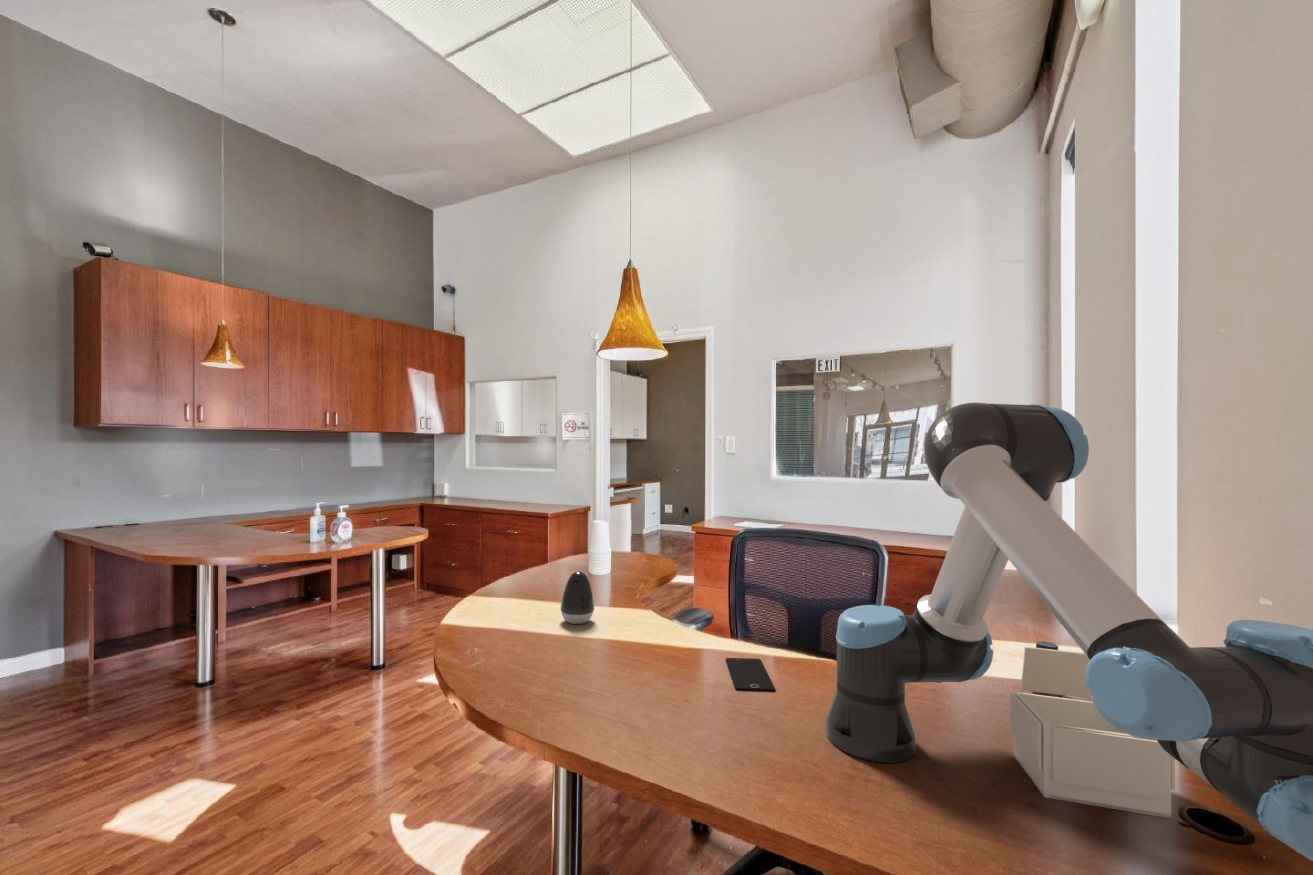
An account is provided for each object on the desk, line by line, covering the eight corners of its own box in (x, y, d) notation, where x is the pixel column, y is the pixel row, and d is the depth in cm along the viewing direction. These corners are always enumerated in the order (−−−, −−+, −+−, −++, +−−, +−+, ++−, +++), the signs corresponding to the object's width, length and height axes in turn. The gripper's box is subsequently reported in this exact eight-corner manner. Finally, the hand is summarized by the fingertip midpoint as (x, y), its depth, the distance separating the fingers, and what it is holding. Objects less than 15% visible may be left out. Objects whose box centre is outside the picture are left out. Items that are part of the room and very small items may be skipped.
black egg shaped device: (554, 625, 158) (556, 574, 158) (566, 615, 168) (568, 567, 169) (588, 628, 156) (589, 576, 157) (597, 618, 166) (599, 569, 167)
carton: (1041, 798, 81) (1041, 725, 82) (1009, 755, 93) (1009, 691, 94) (1179, 822, 77) (1178, 744, 77) (1127, 773, 89) (1127, 705, 89)
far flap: (1025, 647, 92) (1024, 646, 92) (1021, 689, 93) (1020, 688, 93) (1122, 657, 88) (1121, 656, 88) (1117, 701, 89) (1116, 700, 90)
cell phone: (735, 692, 117) (735, 687, 117) (725, 661, 135) (725, 657, 135) (775, 693, 117) (775, 688, 117) (760, 662, 135) (760, 658, 135)
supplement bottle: (1028, 694, 119) (1028, 642, 119) (1032, 686, 123) (1032, 636, 124) (1061, 703, 115) (1061, 649, 115) (1064, 694, 119) (1064, 643, 120)
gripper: (1143, 769, 61) (1050, 688, 84) (1289, 791, 57) (1151, 700, 80) (1142, 702, 61) (1050, 640, 84) (1286, 719, 58) (1149, 649, 81)
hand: (1099, 669), depth 82 cm, fingers closed
